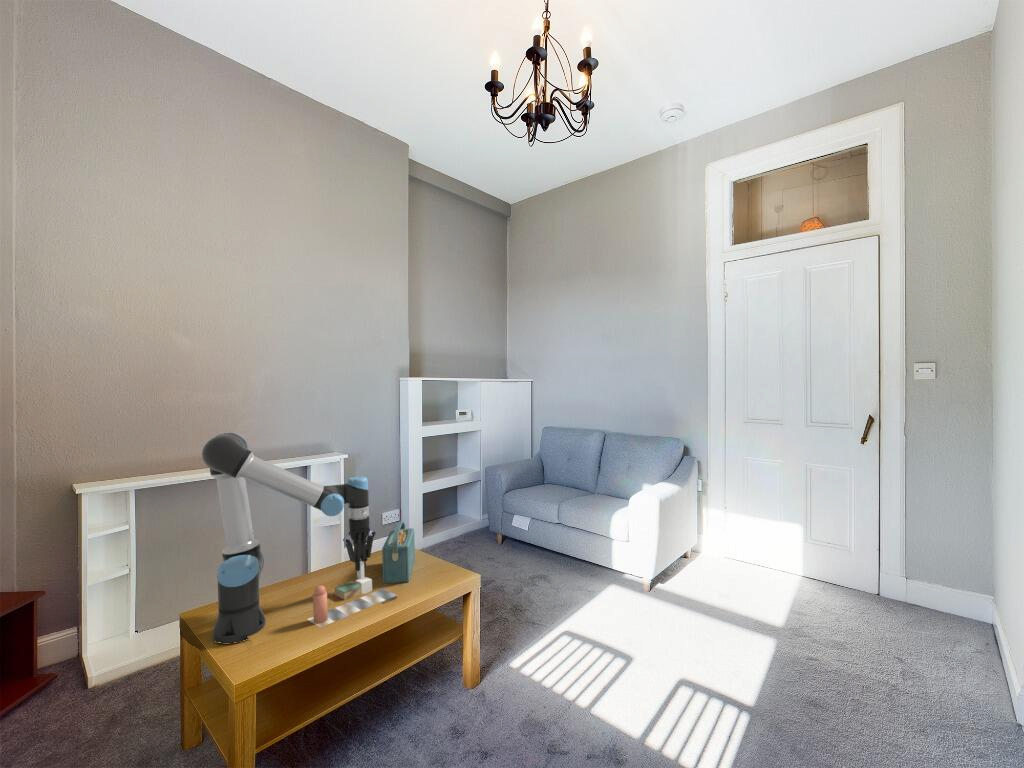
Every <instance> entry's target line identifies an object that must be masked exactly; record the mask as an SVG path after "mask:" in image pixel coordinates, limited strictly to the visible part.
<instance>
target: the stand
mask: <svg viewBox="0 0 1024 768" xmlns="http://www.w3.org/2000/svg"><path fill="white" fill-rule="evenodd" d="M361 594H362V590H361V585H358V584H356V583H355V582H354V581H348V582H346V583H342V584H339V585H337V586H335V587H334V596H336V597H338V598H340V599H342V600H344V601H346V600H348V599H349V600H350V599H351V598H354V597H356V596H359V595H361Z"/></svg>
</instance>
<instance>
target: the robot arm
mask: <svg viewBox="0 0 1024 768" xmlns="http://www.w3.org/2000/svg"><path fill="white" fill-rule="evenodd" d="M248 447H249V446H248V443H247V442H246V440H245V439H244V437H243V436H241V435H239V434H237V433H235V432H234V433H233V432H224V433H221V434H218V435H216V436H214V437H212V438H211V439H209V440H208V441H207V442H206V443H205V444H204V446H203V447H202V451H201V457H202V458H201V459H202V460H203V463H204V464H205V465H206V467H208V468H209V473H210V476H211V477H213V478H214V479H216V485H217V491H218V497H219V505H220V512H221V519H222V524H223V525H222V526H223V532H224V539H225V544H226V545H225V547H224V548H223V549H222V551H221V553H222V559H223V560H222V563H220V565H219V566H218V569H217V574H216V578H217V601H218V602H217V603H218V605H217V606H218V614H217V616H216V621H215V622H214V623H215V624H214V626H213V628H212V629H213V630H212V641H213V640H214V641H216V642H221V643H234V642H239V643H241V642H240V641H243V640H246V639H249V640H250V638H249V637H251V636H252V635H255V634H257V633H258V632H260V631H261V630H262V629H264V628H265V626H266V624H267V620H266V617H265V614H264V612H263V609H262V607H261V604H260V579H261V574H262V571H263V569H264V564H265V559H264V557H265V556H264V555H263V552H262V551H261V550H262V549H261V544H260V540H258V539H255V537H254V536H255V535H254V530H253V524H252V523H253V521H252V516H251V509H250V501H249V496H248V495H249V494H248V488H247V481H246V480H248V481H250V482H253V483H255V484H258V485H260V486H262V487H265V488H267V489H269V490H271V491H274V492H276V493H279V494H280V495H282V496H283V495H284V496H285V497H289V498H291V499H294V500H296V501H298V502H301V503H303V504H305V505H308V506H310V507H313V508H314V509H317V510H319V511H321V513H323V514H324V515H326V516H328V517H335V516H338V515H339V514H341V512H343V510H344V508H345V507H344V506H345V505H347V504H348V518H349V519H348V528H349V532H348V536H347V537H344V538H343V539H342V542H343V543H344V545H345V546H346V550H347V554H348V557H349V561H350V562H352V563H354V570H355V571H356V574H357V575H356V576H357V577H356V578H357V579H363V578H364V577H365V569H366V568H367V561H368V559H369V558H371V555H372V548H373V543H374V542H373V541H374V537H375V536H376V534H377V533H376V531H373V530H372V529H371V528H370V517H369V516H370V509H369V508H370V504H369V502H370V501H369V500H370V499H369V497H370V495H369V493H370V492H369V481H368V480H369V479H368V478H367V477H366V476H354V477H353V476H352V477H349V478H347V483H344V484H343V483H342V484H331V485H320V484H319V483H316V482H314V481H311V480H309V479H307V478H305V477H302V476H299V475H298V474H296V473H293V472H291V471H289V470H287V469H284V468H282V467H280V466H277V465H275V464H273V463H271V462H268V461H266V460H264V459H262V458H260V457H257V456H255V455H254V452H253V451H252V450H250V449H249V448H248ZM352 543H353V544H352ZM214 641H213V642H214ZM246 641H247V640H246ZM243 642H244V641H243ZM234 644H235V643H234Z"/></svg>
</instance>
